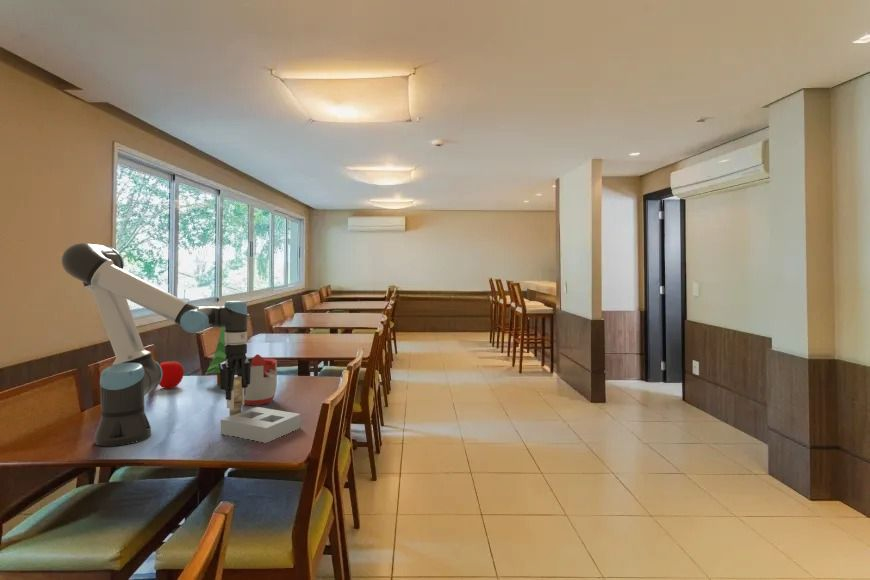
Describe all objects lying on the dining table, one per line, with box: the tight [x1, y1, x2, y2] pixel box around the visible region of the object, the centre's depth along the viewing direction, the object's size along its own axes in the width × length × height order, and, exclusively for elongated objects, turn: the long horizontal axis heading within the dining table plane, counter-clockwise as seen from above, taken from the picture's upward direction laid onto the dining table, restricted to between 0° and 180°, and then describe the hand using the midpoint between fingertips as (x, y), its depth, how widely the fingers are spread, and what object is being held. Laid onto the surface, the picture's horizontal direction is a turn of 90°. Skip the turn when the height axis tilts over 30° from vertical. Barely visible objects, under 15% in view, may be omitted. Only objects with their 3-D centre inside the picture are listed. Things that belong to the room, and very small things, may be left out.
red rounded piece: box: [158, 360, 184, 390], centre depth 214 cm, size 11×11×13 cm
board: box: [220, 406, 302, 444], centre depth 157 cm, size 16×20×5 cm
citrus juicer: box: [244, 354, 278, 406], centre depth 191 cm, size 16×17×20 cm
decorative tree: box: [204, 327, 237, 387], centre depth 220 cm, size 14×16×30 cm
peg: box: [229, 375, 242, 416], centre depth 169 cm, size 4×4×14 cm
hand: (235, 406), depth 169 cm, fingers closed on peg, 4 cm apart
